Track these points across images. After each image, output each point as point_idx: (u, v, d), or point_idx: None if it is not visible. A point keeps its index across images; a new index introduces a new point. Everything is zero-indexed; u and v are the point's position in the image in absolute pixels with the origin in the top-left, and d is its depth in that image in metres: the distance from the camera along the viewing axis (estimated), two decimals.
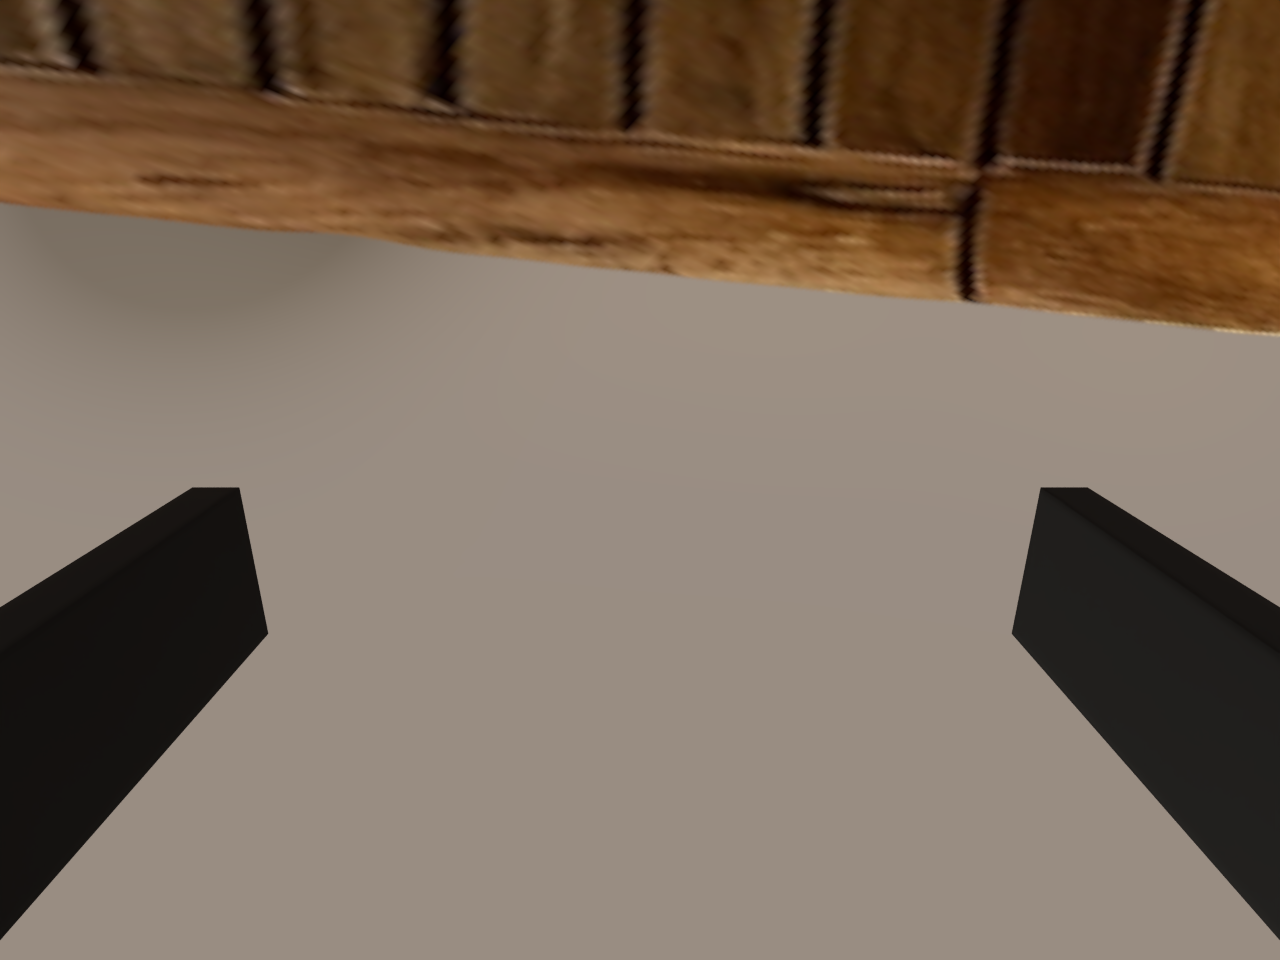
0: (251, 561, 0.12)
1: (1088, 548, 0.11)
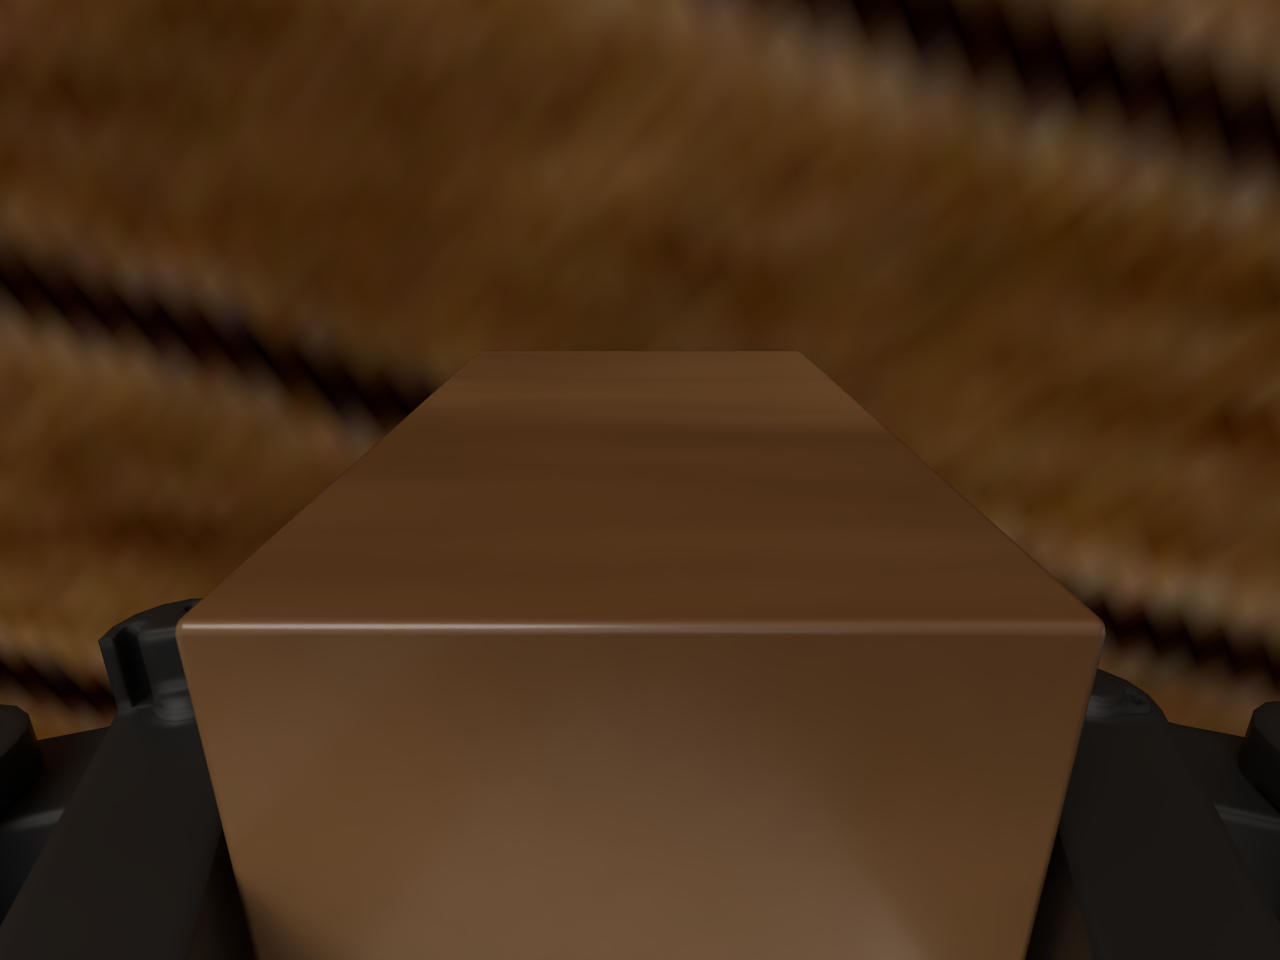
0: None
1: None
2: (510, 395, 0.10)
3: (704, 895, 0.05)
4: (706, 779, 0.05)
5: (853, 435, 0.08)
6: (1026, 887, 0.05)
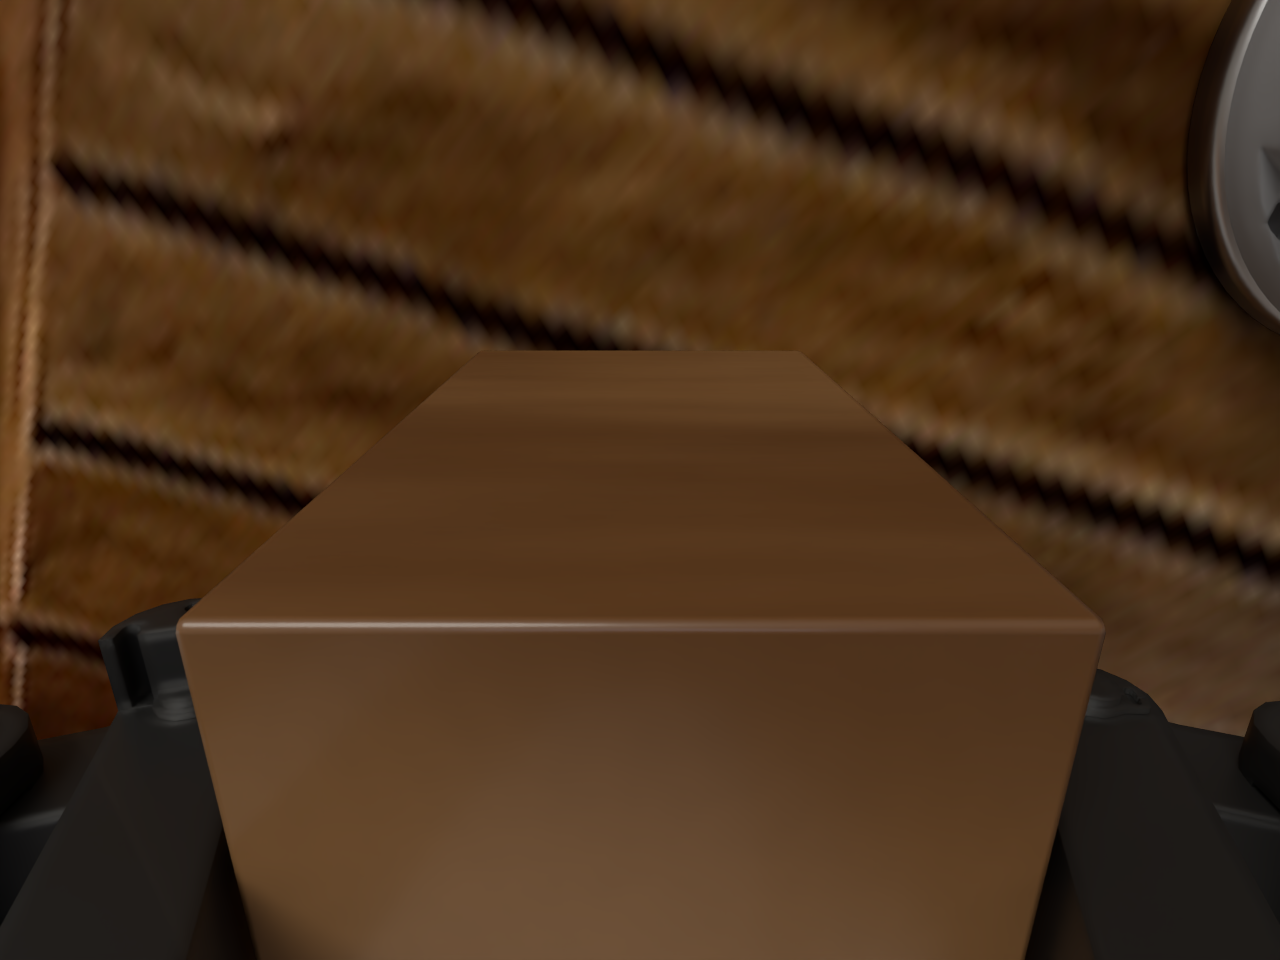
0: None
1: None
2: (510, 395, 0.10)
3: (706, 894, 0.05)
4: (706, 779, 0.05)
5: (853, 434, 0.08)
6: (1026, 886, 0.05)
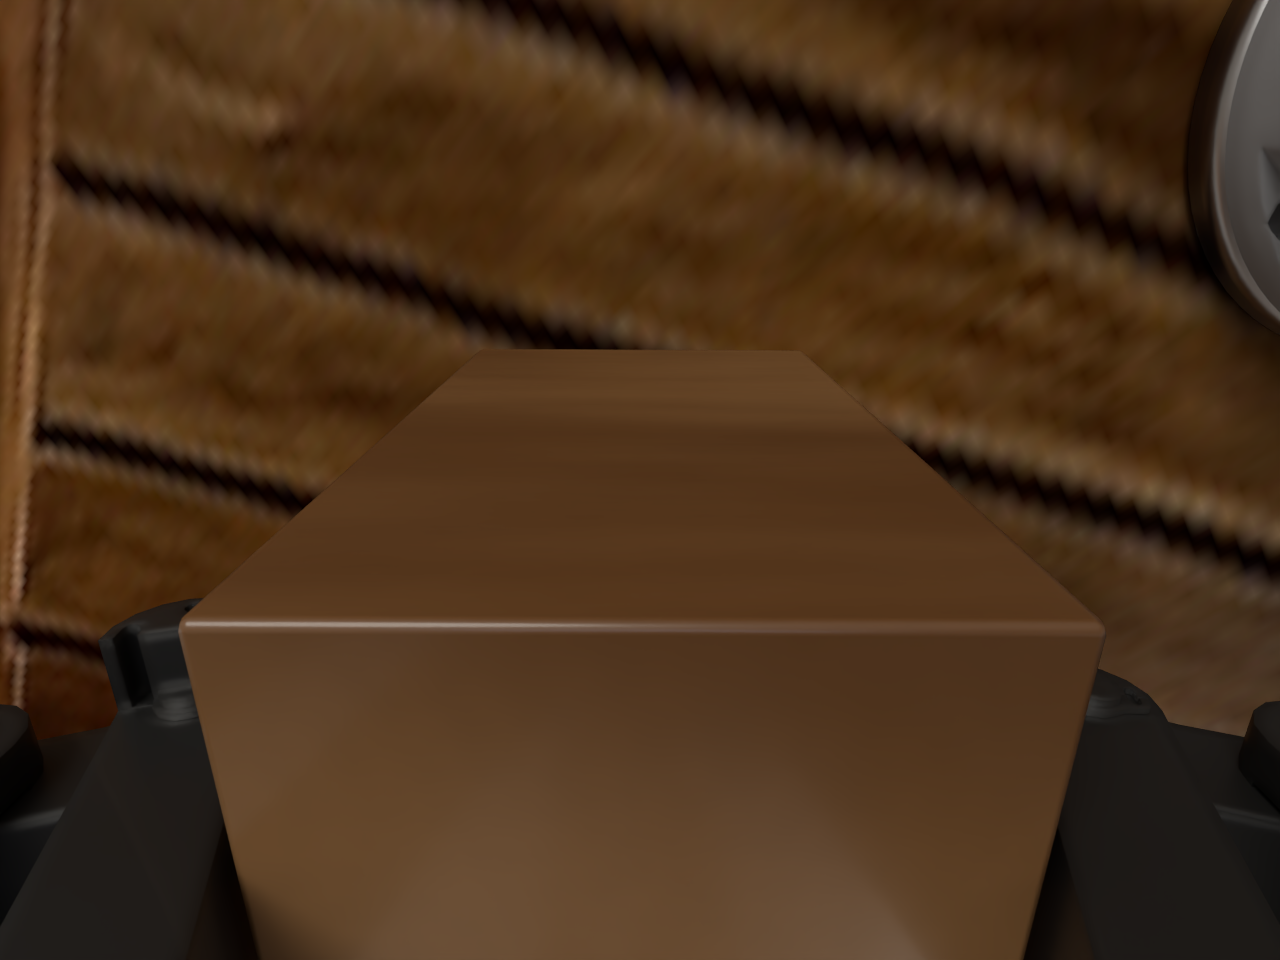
0: None
1: None
2: (511, 394, 0.10)
3: (705, 895, 0.05)
4: (706, 778, 0.05)
5: (854, 435, 0.08)
6: (1025, 887, 0.05)
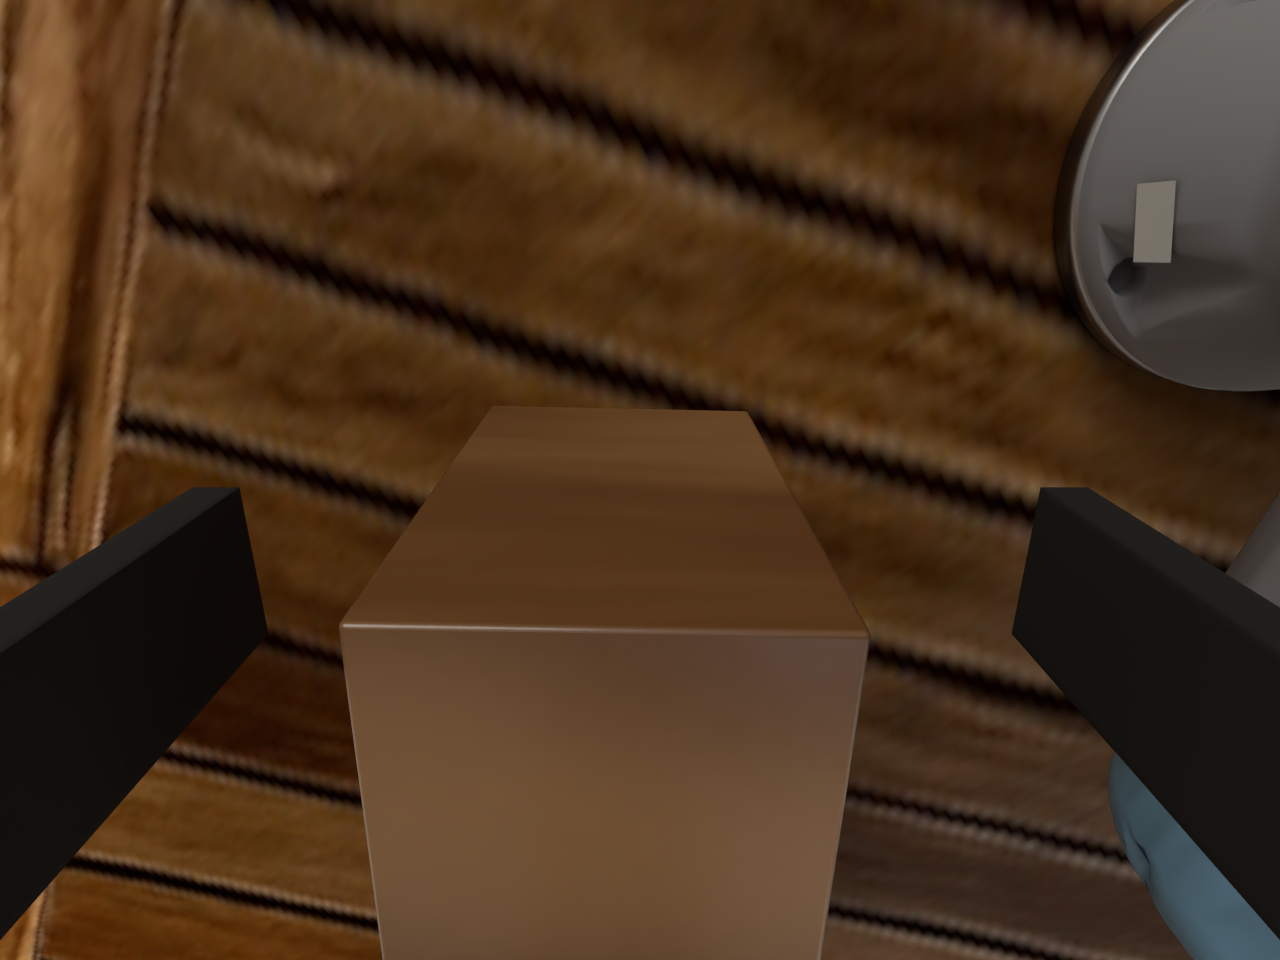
0: (250, 561, 0.12)
1: (1088, 548, 0.11)
2: (520, 453, 0.14)
3: (644, 792, 0.09)
4: (643, 720, 0.09)
5: (764, 496, 0.12)
6: (836, 790, 0.09)
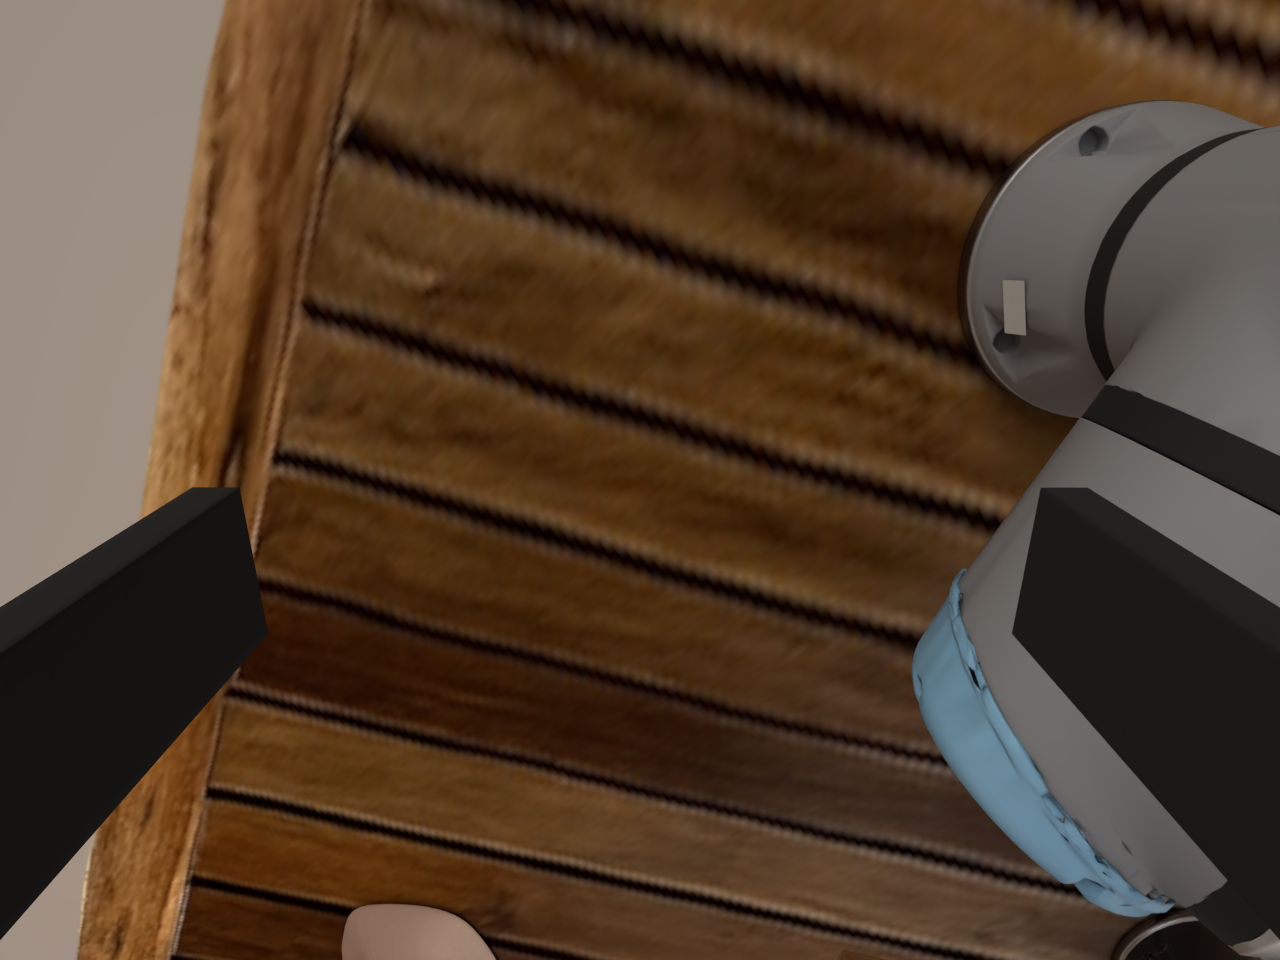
0: (250, 562, 0.12)
1: (1088, 548, 0.11)
2: None
3: None
4: None
5: None
6: None
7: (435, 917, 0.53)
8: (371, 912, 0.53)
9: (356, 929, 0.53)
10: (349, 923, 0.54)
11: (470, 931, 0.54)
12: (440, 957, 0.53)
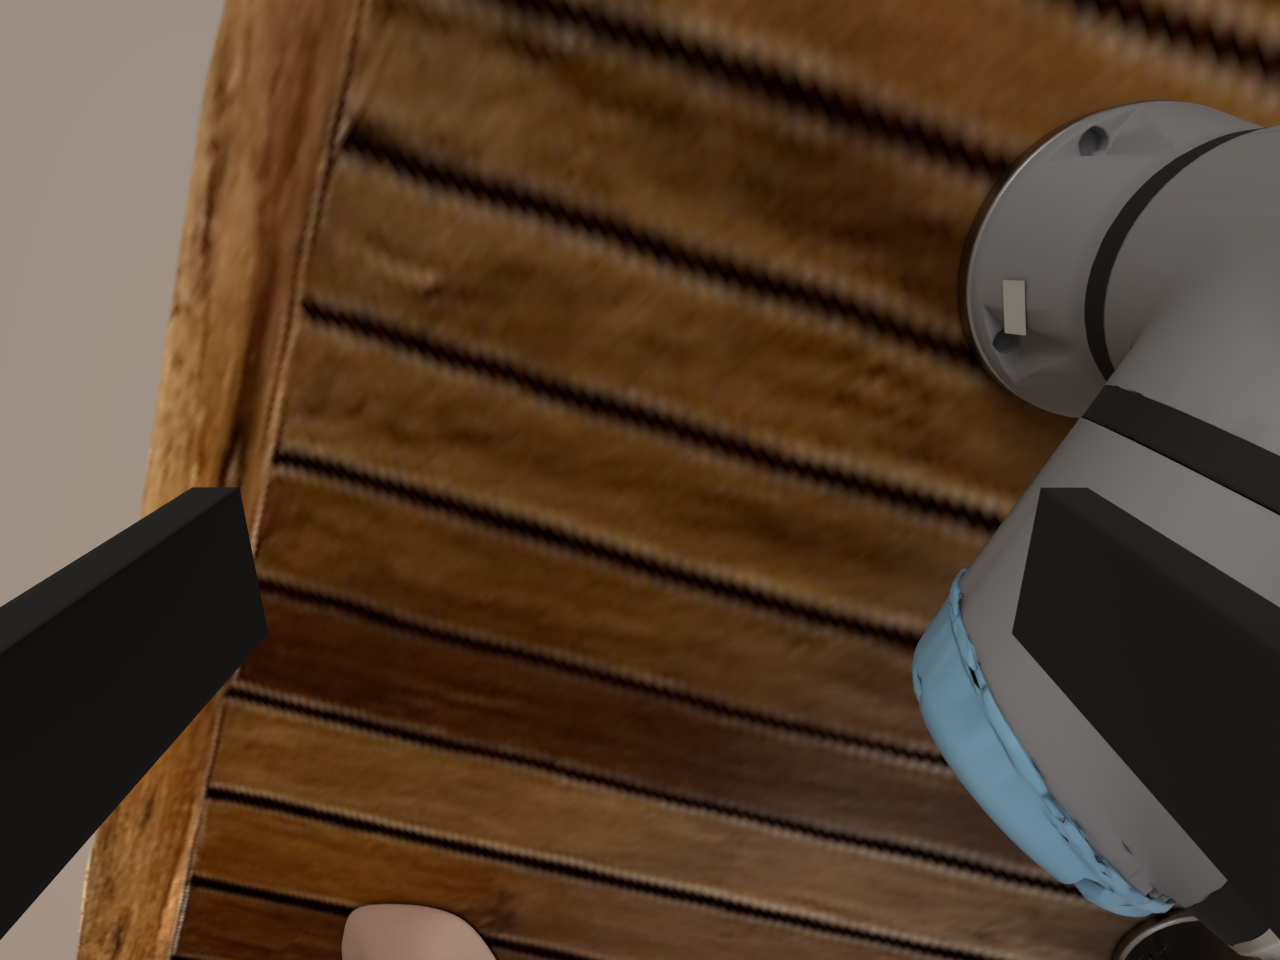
0: (250, 562, 0.12)
1: (1088, 548, 0.11)
2: None
3: None
4: None
5: None
6: None
7: (435, 917, 0.53)
8: (371, 912, 0.53)
9: (356, 929, 0.53)
10: (349, 923, 0.54)
11: (470, 931, 0.54)
12: (440, 957, 0.53)
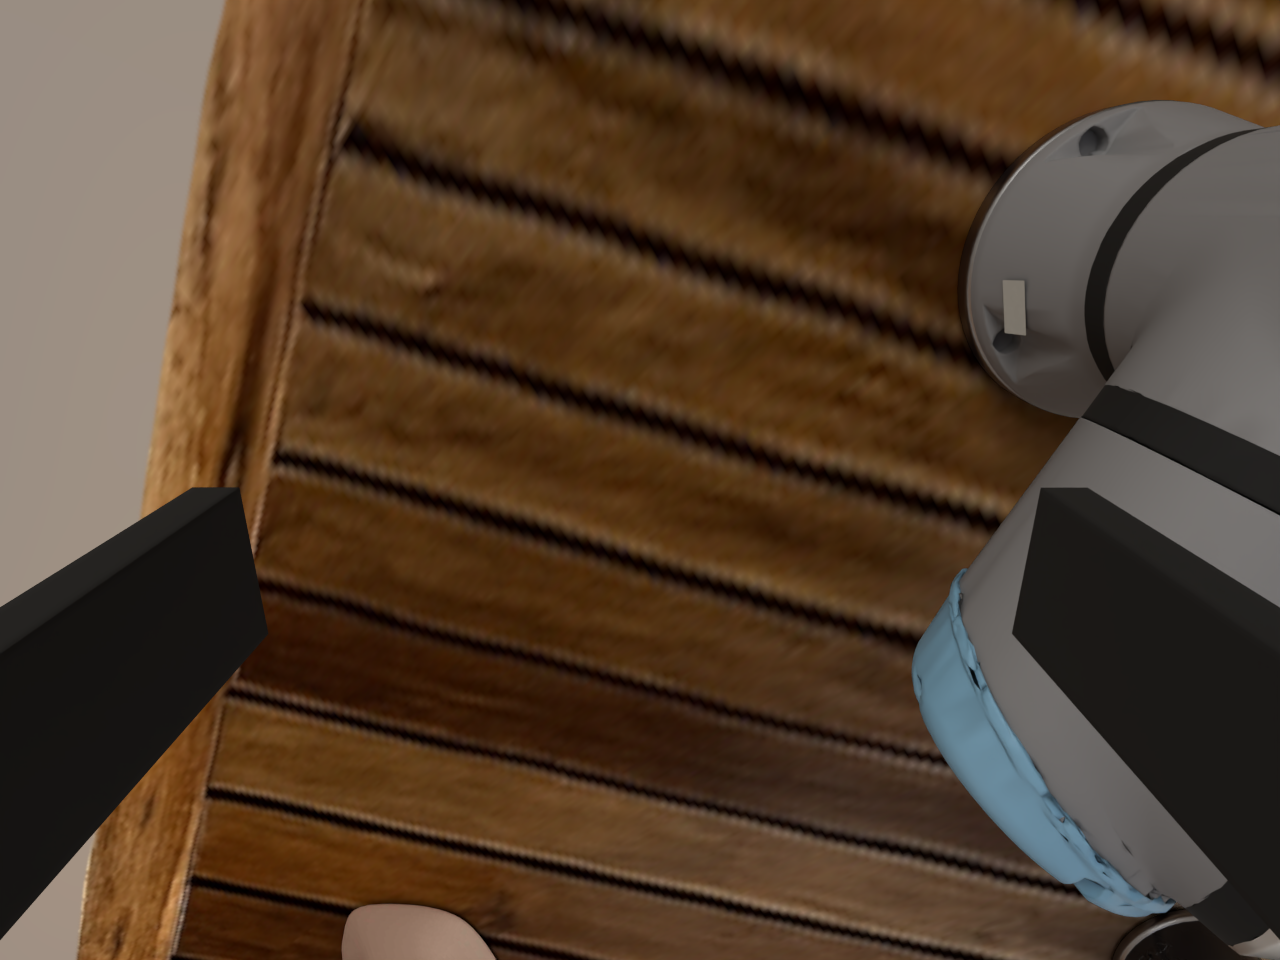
0: (250, 562, 0.12)
1: (1088, 548, 0.11)
2: None
3: None
4: None
5: None
6: None
7: (435, 917, 0.53)
8: (371, 912, 0.53)
9: (356, 929, 0.53)
10: (349, 923, 0.54)
11: (470, 931, 0.54)
12: (440, 957, 0.53)
